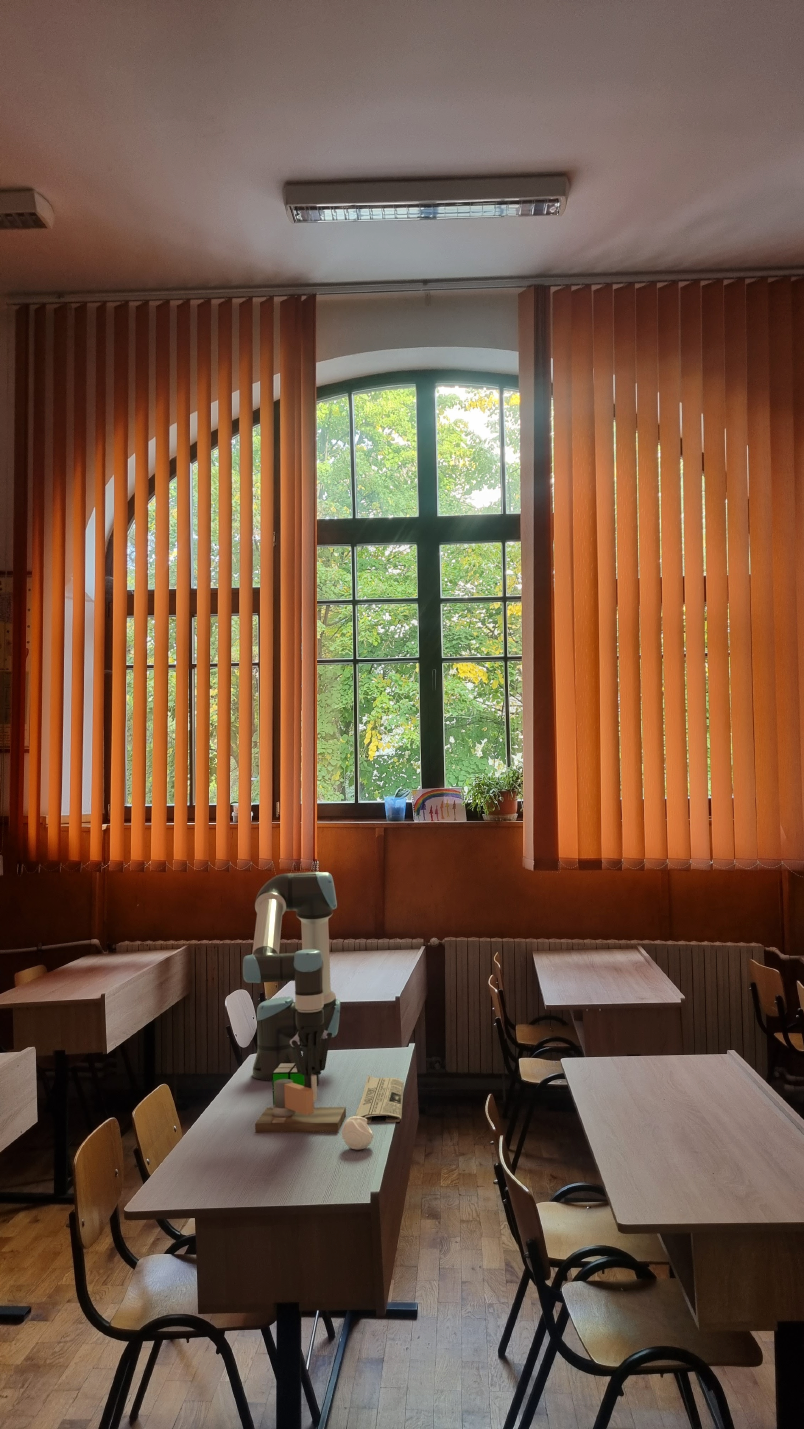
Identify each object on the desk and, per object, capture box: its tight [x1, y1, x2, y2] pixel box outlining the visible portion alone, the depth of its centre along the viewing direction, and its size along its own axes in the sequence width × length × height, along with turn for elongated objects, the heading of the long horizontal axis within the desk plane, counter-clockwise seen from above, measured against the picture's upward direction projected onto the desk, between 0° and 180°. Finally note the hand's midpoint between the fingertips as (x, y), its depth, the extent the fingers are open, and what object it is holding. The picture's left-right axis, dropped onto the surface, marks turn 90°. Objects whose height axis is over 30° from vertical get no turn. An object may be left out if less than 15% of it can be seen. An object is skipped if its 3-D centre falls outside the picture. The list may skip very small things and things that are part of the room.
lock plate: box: [254, 1104, 347, 1134], centre depth 259 cm, size 13×22×4 cm, turn 84°
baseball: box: [341, 1115, 374, 1151], centre depth 239 cm, size 8×8×8 cm
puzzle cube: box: [271, 1063, 305, 1106], centre depth 278 cm, size 10×10×10 cm
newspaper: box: [354, 1074, 405, 1124], centre depth 275 cm, size 35×12×4 cm, turn 179°
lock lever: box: [273, 1079, 315, 1115], centre depth 258 cm, size 5×14×6 cm, turn 41°
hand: (312, 1099), depth 257 cm, fingers closed
